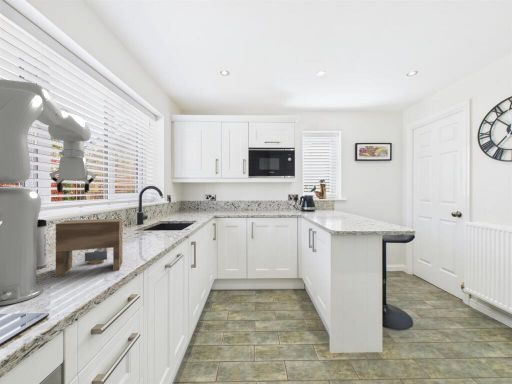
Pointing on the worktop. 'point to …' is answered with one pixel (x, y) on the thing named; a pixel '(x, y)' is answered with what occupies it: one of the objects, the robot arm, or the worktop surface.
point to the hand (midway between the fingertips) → (73, 192)
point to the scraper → (96, 255)
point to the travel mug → (41, 244)
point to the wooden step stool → (87, 240)
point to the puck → (95, 262)
